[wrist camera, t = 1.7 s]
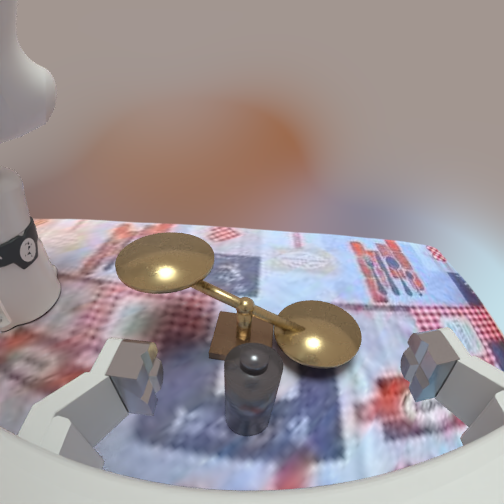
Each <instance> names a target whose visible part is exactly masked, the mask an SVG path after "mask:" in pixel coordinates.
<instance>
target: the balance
mask: <svg viewBox="0 0 504 504" xmlns="http://www.w3.org/2000/svg"><path fill="white" fill-rule="evenodd" d="M213 265H214V252H213V250H212V248H211V247H210V245H209V244H208V243H207V242H205V241H204V240H202V239H200V238H198V237H196V236H193V235H189V234H184V233H158V234H153V235H149V236H145V237H142V238H140V239H138V240H135V241H134V242H132V243H130V244H129V245H127V246H126V247H125V248H124V249H123V250H122V251H121V252H120V253H119V255H118V257H117V259H116V263H115V267H116V272H117V275H118V277H119V279H120V280H121V281H122V282H123V283H124V284H125V285H126V286H128V287H130V288H132V289H134V290H137V291H140V292H145V293H152V294H162V293H171V292H177V291H181V290H184V289H187V288H189V287H192V288H194V289H196V290H198V291H200V292H202V293H204V294H206V295H208V296H210V297H212V298H215V299H217V300H219V301H221V302H223V303H225V304H227V305H230V306H232V307H234V308H236V310H237V313H230V312H222V311H220V313H219V317H218V321H217V324H216V328H215V332H214V335H213V339H212V343H211V346H210V350H209V358H212V359H219V360H225V358H226V356H227V354H228V353H229V352H230V351H231V350H232V349H233V348H235V347H236V346H238V345H241V344H245V343H260V344H264V345H267V346H269V347H271V348H272V338H273V325H274V335H275V339H276V342H277V344H278V346H279V347H280V349H281V350H282V351H283V352H284V353H285V354H286V355H287V356H288V357H290V358H291V359H292V360H294V361H296V362H298V363H300V364H302V365H305V366H308V367H312V368H319V369H328V368H334V367H338V366H341V365H343V364H345V363H347V362H349V361H350V360H351V359H352V358H353V357H354V356H355V355H356V353H357V352H358V350H359V347H360V345H361V331H360V328H359V326H358V324H357V322H356V321H355V320H354V319H353V317H352V316H351V315H350V314H348V313H347V312H346V311H344V310H343V309H341V308H339V307H337V306H335V305H333V304H330V303H327V302H322V301H313V300H310V301H300V302H296V303H294V304H291V305H289V306H287V307H286V308H284V309H283V310H282V311H281V312H280V313H279V315H276V314H274V313H272V312H269V311H267V310H265V309H263V308H261V307H258V306H256V305H255V304H254V302H253V300H252V299H250V298H248V297H242V298H239V297H237V296H235V295H233V294H230V293H228V292H226V291H224V290H222V289H220V288H218V287H216V286H214V285H212V284H210V283H207V282H205V281H203V279H204V278H205V277H206V276H208V274H209V273H210V272H211V270H212V268H213Z"/></svg>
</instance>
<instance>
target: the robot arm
mask: <svg viewBox="0 0 504 504" xmlns="http://www.w3.org/2000/svg"><path fill="white" fill-rule="evenodd" d="M17 4H18V0H0V143H3V142H6V141H9V140H12V139H15V138H18V137H21V136H23V135H25V134H27V133H29V132H30V131H33V130H34V129H36V128H38V127H40V126H42V125H44V124H45V123H46V122H47V121H48V120H49V118H50V116H51V114H52V112H53V110H54V107H55V104H56V99H57V88H56V83H55V80H54V78H53V76H52V74H51V73H50V72H49V71H48V70H47V69H46V68H44V67H42V66H39V65H38V64H36V63H34V62H33V61H32V60H30V59H29V58H28V57H27V56H26V55H25V53H24V52H23V50H22V49H21V47H20V44H19V42H18V39H17V33H16V15H17ZM60 290H61V286H60V283H59V281H58V279H57V269H56V267H55V266H54V265H51V263H50V260H49V258H48V256H47V253H46V251H45V248H44V246H43V244H42V241H41V240H40V239H38V235H37V231H36V226H35V224H34V221H33V218H32V217H31V216H30V214H29V211H28V206H27V202H26V198H25V193H24V188H23V183H22V180H21V178H20V176H19V175H18V173H16V172H15V171H14V170H12V169H10V168H6V167H1V166H0V330H1V331H7V330H9V329H11V328H12V327H14V326H16V325H19V324H24V323H27V322H30V321H33V320H35V319H37V318H39V317H40V316H42V315H43V314H44V313H46V312H47V311H48V310H49V309H50V308H51V307H52V306H53V305H54V303H55V302H56V300H57V299H58V297H59V294H60ZM408 345H409V348H408V349H407V350H406V351H405V352H404V353H403V355H402V358H401V371H402V374H403V377H404V378H405V379H406V380H408V381H409V382H410V385H409V389H410V392H411V394H412V396H413V398H414V400H415V402H418V401H423V400H427V399H431V398H435V397H436V398H435V399H436V400H437V401H438V402H440V403H441V404H442V405H443V406H444V407H446V408H447V409H448V410H449V411H450V412H452V413H453V414H454V415H455V416H456V417H458V418H459V419H460V420H461V421H462V422H464V423H465V424H466V425H467V426H468V427H469V428H468V429H467V430H466V431H465V432H464V433H463V434H462V436H461V438H460V439H461V441H462V443H463V446H462V447H459V448H457V449H455V450H452V451H450V452H448V453H445V454H443V455H440V456H438V457H435V458H432V459H430V460H427V461H424V462H421V463H418V464H415V465H412V466H409V467H406V468H403V469H399V470H396V471H392V472H389V473H385V474H381V475H377V476H373V477H368V478H364V479H359V480H354V481H349V482H344V483H338V484H332V485H325V486H317V487H309V488H299V489H286V490H265V491H236V490H215V489H202V488H192V487H184V486H176V485H169V484H163V483H157V482H152V481H147V480H142V479H137V478H133V477H128V476H124V475H120V474H116V473H113V472H109V471H105V470H102V468H103V465H104V460H103V458H102V457H101V456H100V455H99V454H98V452H97V451H96V450H95V449H94V448H93V447H95V446H96V445H97V444H98V443H99V442H100V441H101V440H102V439H103V438H104V437H105V436H106V435H107V434H108V433H109V432H111V431H112V430H113V429H114V428H115V427H116V426H117V425H118V424H119V423H120V422H121V421H122V420H123V419H124V418H125V417H126V416H127V415H128V413H134V414H141V415H149V416H154V412H155V408H156V405H157V401H158V399H157V396H156V394H155V393H156V392H158V391H159V390H160V389H161V387H162V383H163V367H162V363H161V361H160V360H159V359H158V358H157V357H156V356H157V353H158V350H157V347H156V344H155V343H153V342H147V341H138V340H129V339H119V338H112V337H111V338H109V339H108V340H107V341H106V343H105V345H104V347H103V348H102V350H101V352H100V354H99V356H98V358H97V360H96V361H95V363H94V365H93V367H92V369H91V371H90V372H85V373H83V374H82V375H80V376H79V377H77V378H75V379H74V380H72V381H71V382H69V383H68V384H66V385H64V386H63V387H61V388H60V389H58V390H56V391H55V392H53V393H52V394H50V395H48V396H47V397H45V398H44V399H42V400H41V401H39V402H37V403H36V404H34V405H33V406H32V408H31V410H30V412H29V414H28V416H27V417H26V419H25V421H24V423H23V425H22V427H21V429H20V431H19V433H18V435H15V434H13V433H11V432H9V431H7V430H6V429H4V428H2V427H0V504H504V372H503V371H501V370H499V369H497V368H495V367H494V366H492V365H490V364H488V363H486V362H485V361H483V360H481V359H479V358H477V357H476V356H471V355H470V354H469V352H468V351H467V350H466V348H465V347H464V346H463V344H462V343H461V341H460V340H459V339H458V337H457V336H456V335H455V333H454V332H453V331H452V329H450V328H448V327H446V328H441V329H436V330H431V331H425V332H419V333H413V334H412V335H411V336H410V338H409V340H408Z"/></svg>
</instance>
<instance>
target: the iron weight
mask: <svg viewBox="0 0 504 504" xmlns="http://www.w3.org/2000/svg"><path fill="white" fill-rule="evenodd" d="M282 372H283V362H282V359H281V357H280V356H279V354H278V353H277V352H276V351H275V350H274V349H272V348H271V347H269V346H267V345H264V344H260V343H245V344H241V345H238V346H236V347H235V348H233V349H232V350H231V351H230V352H229V353H228V354H227V356H226V358H225V362H224V377H225V417H226V423H227V425H228V426H229V428H230V429H231V430H232V431H234V432H235V433H237V434H239V435H243V436H253V435H257V434H259V433H261V432H262V431H263V430H264V429H265V428H266V427H267V425H268V423H269V419H270V416H271V412H272V409H273V405H274V402H275V398H276V394H277V391H278V387H279V383H280V379H281V375H282Z"/></svg>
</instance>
